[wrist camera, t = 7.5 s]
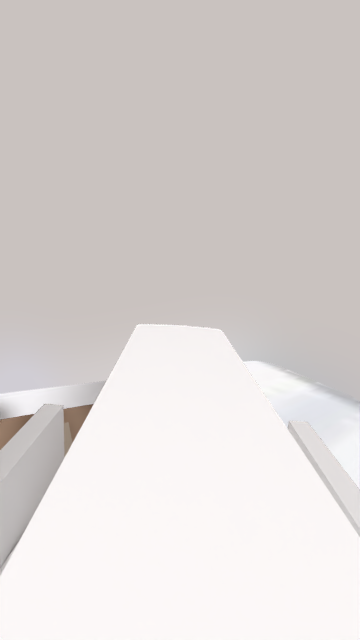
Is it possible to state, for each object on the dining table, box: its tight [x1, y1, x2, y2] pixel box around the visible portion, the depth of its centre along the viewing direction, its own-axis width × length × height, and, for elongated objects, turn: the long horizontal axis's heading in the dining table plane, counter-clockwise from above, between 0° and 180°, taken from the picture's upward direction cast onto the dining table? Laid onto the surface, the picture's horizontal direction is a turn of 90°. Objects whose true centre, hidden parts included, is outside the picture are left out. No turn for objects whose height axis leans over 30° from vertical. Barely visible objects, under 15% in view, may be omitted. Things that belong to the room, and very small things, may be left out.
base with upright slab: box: [0, 324, 360, 640], centre depth 7 cm, size 9×9×12 cm
